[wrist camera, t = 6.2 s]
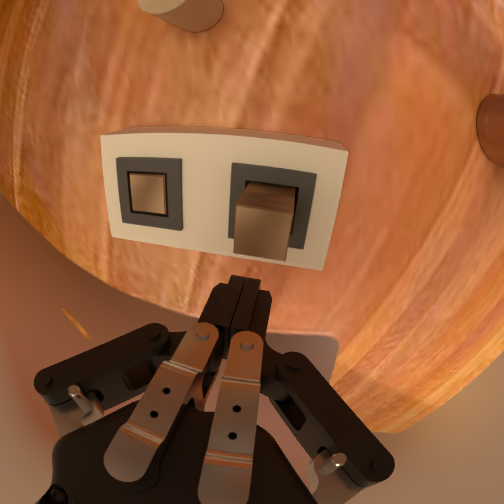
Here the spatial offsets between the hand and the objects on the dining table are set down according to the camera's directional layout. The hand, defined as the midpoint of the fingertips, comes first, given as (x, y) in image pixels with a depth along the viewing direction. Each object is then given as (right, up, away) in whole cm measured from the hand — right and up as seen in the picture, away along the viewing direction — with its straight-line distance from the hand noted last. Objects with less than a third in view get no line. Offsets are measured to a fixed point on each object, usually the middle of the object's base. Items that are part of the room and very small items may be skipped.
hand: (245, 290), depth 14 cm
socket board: (-3, +10, +16) cm, 19 cm away
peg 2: (+2, +7, +11) cm, 13 cm away
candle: (-5, +28, +6) cm, 29 cm away
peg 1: (-9, +11, +17) cm, 22 cm away
